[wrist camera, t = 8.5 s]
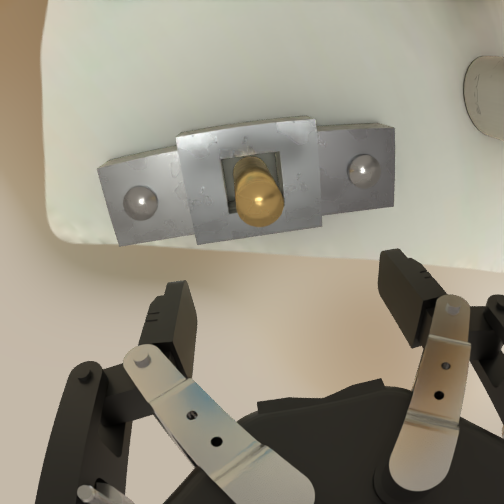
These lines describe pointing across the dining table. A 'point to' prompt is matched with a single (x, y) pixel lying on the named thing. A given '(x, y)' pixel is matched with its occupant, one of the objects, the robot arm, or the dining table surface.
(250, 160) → the pin
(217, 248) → the dining table surface
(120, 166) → the grey block with hole
